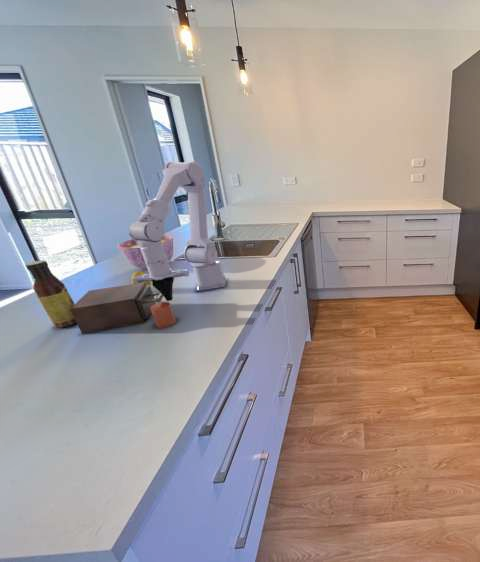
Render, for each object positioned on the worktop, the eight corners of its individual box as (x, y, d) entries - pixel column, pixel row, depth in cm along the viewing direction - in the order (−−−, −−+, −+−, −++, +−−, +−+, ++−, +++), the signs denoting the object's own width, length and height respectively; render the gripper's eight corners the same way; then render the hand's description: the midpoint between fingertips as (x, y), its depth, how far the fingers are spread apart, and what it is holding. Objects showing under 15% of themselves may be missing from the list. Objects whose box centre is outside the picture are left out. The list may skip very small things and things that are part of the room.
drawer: (170, 299, 103) (164, 282, 100) (162, 315, 93) (156, 297, 90) (106, 310, 97) (98, 292, 94) (92, 328, 87) (82, 309, 84)
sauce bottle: (87, 319, 93) (58, 259, 85) (62, 330, 88) (29, 267, 80) (73, 316, 95) (44, 257, 87) (49, 326, 90) (14, 265, 82)
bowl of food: (161, 274, 126) (152, 247, 122) (115, 274, 127) (104, 248, 122) (189, 257, 145) (182, 234, 140) (148, 258, 145) (140, 235, 140)
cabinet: (153, 304, 102) (145, 282, 98) (143, 322, 91) (133, 298, 88) (99, 313, 97) (89, 290, 93) (82, 334, 86) (69, 309, 83)
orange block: (177, 317, 93) (171, 300, 91) (174, 325, 89) (168, 307, 87) (158, 321, 92) (152, 303, 89) (154, 329, 87) (147, 311, 85)
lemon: (144, 294, 108) (136, 274, 105) (132, 293, 109) (124, 273, 106) (157, 288, 113) (150, 268, 110) (145, 287, 114) (138, 268, 111)
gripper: (123, 268, 86) (139, 309, 92) (181, 260, 91) (193, 300, 96) (131, 260, 92) (146, 299, 98) (184, 253, 97) (196, 291, 102)
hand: (169, 299), depth 97 cm, fingers closed
